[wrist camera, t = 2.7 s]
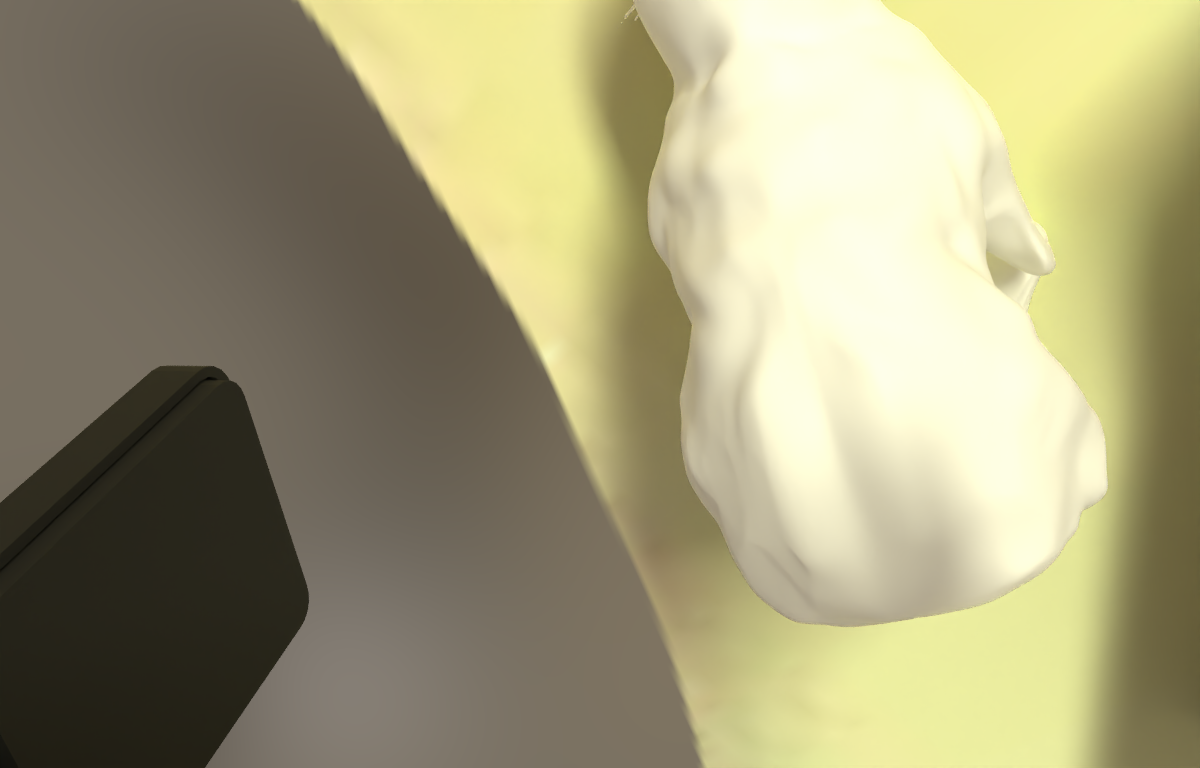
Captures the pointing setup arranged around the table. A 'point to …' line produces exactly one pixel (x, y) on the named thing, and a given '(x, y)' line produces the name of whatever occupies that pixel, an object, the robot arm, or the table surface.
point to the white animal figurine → (859, 316)
